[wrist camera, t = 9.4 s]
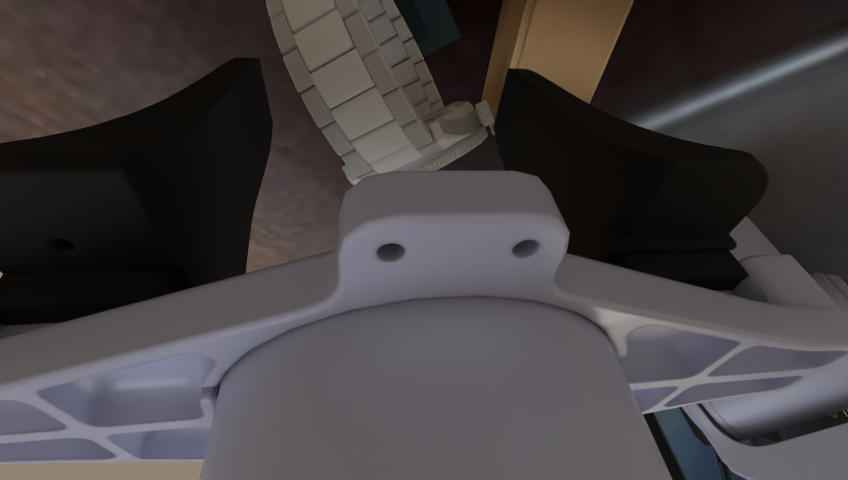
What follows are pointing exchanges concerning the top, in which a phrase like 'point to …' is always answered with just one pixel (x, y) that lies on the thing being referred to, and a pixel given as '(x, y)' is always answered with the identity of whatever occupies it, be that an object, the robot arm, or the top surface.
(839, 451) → the robot arm
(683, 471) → the router box
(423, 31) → the watch
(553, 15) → the pencil box
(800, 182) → the top surface
